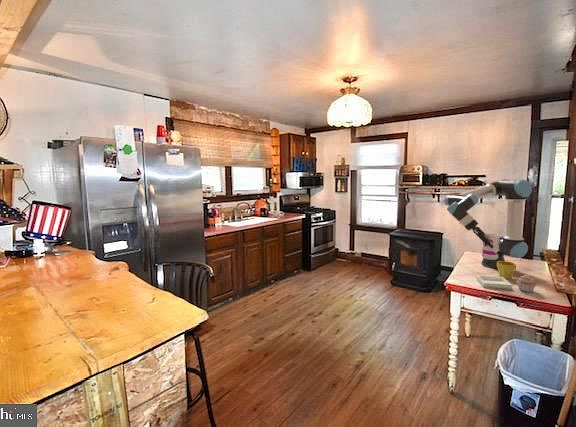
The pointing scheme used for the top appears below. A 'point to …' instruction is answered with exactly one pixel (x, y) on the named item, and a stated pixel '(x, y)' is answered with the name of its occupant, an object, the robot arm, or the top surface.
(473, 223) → the robot arm
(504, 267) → the plant pot
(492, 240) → the supplement can
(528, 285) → the cupcake
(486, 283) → the dish
